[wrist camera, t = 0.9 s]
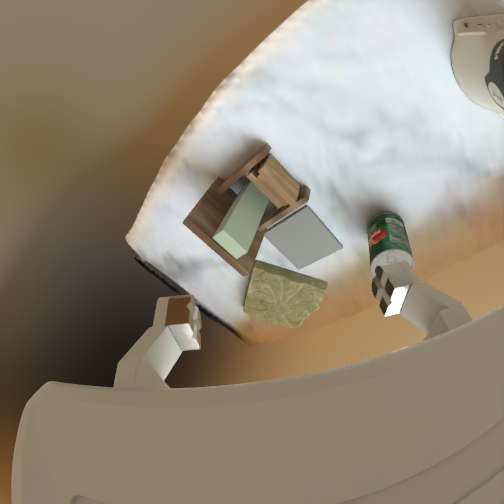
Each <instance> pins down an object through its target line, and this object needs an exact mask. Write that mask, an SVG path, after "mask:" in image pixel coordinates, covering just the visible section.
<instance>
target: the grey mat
mask: <svg viewBox="0 0 504 504" xmlns="http://www.w3.org/2000/svg"><path fill="white" fill-rule="evenodd" d="M264 236H265V237H266V238H267V239H268V240H269V241H270V242H271V243H272V244H273V245H274V246H275V247H276V248H277V249H278V250H279V251H280V252H281V253H282V254H283V255H284V256H285V257H286V258H287V259H288V260H289V261H290V262H291V263H292V264H293V265H294V266H295V267H296V268H297V269H298V270H299V269H301V268H303V267H305V266H308V265H310V264H312V263H314V262H316V261H318V260H320V259H322V258H324V257H326V256H328V255H330V254H332V253H334V252H336V251H338V250H340V249H342V248H343V246H342V245H341V243H340V242H339V241H338V240H337V239H336V237H335V236H334V235H333V234H332V233H331V232H330V230H329V229H328V228H327V227H326V226H325V225H324V223H323V222H322V221H321V220H320V219H319V218H318V216H317V215H316V214H315V213H314V212H313V211H312V210H311V209H310V207H309V206H308V205H307V206H306V207H304V208H302V209H301V210H299V211H298V212H296V213H294V214H293V215H291V216H290V217H288V218H287V219H285V220H283V221H282V222H280V223H279V224H277V225H275V226H274V227H272V228H271V229H269V230H268V231H266V232H265V234H264Z"/></svg>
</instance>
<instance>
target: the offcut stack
mask: <svg viewBox="0 0 504 504" xmlns="http://www.w3.org/2000/svg"><path fill="white" fill-rule="evenodd" d="M246 177H247V178H248V179H249V180H250V181H251V182H252V183H253V184H254V185H255V186H256V187H257V188H258V189H259V190H260V191H261V192H262V193H263V194H264V195H265V196H266V197H267V198H268V199H269V200H270V201H271V202H272V203H273V204H274V205H275V206H276V207H277V208H278V209H279V208H280V207H282V206H286V205H287V204H289V205H290V206H292V205H293V204H295V203H296V201H297V197H298V193H299V190H300V185H299V184H298V182H297V181H296V180H295V179H294V178H293V177H292V176H291V175H290V174H289V173H288V172H287V171H286V169H285V168H284V167H283V166H282V165H281V164H280V163H279V162H278V161H277V160H276V159H275V158H274V157H273V156H272V155H271V154H270V155H269V156H267V157H266V158H265V160H264V162H263V163H262V165H260V164H259V163H257V164H256V165H255V166H254V167H252V169H251V170H250V172H249V173H248V175H247V176H246Z"/></svg>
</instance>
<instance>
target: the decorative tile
mask: <svg viewBox="0 0 504 504" xmlns="http://www.w3.org/2000/svg"><path fill="white" fill-rule="evenodd" d="M327 284H328V282H325V281H322V280H319V279H316V278H313V277H310V276H307V275H303V274H300V273H297V272H294V271H291V270H287V269H284V268H281V267H278V266H274V265H271V264H268V263H265V262H261V261H256V263H255V265H254V268H253V271H252V275H251V279H250V283H249V287H248V291H247V295H246V299H245V304H244V309H243V311H244V312H245V313H246V314H249V315H252V316H254V317H257V318H259V319H263V320H266V321H269V322H272V323H276V324H280V325H283V326H286V327H290V328H297V329H298V328H299V326H300V325H302V323H303V321H304V319H305V318H307V317H308V316H309V315H310V314H311V312H315V311H316V310H318V309H319V308H320V305H321V303H322V301H323V295H324V293H325V291H326V287H327Z"/></svg>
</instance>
